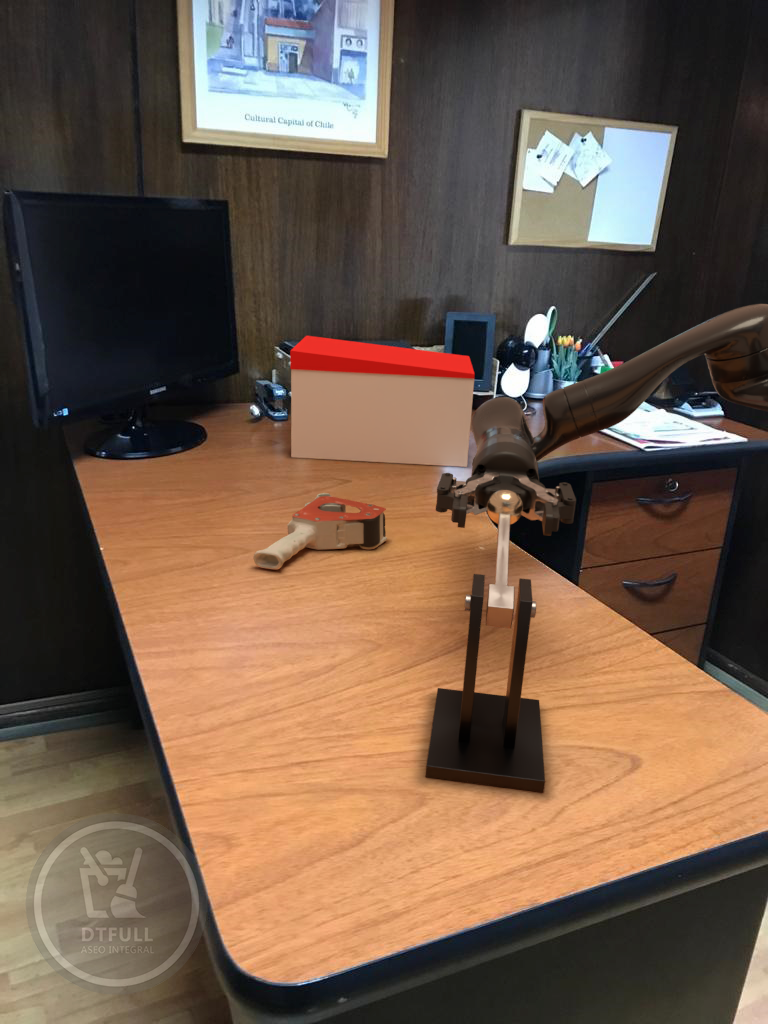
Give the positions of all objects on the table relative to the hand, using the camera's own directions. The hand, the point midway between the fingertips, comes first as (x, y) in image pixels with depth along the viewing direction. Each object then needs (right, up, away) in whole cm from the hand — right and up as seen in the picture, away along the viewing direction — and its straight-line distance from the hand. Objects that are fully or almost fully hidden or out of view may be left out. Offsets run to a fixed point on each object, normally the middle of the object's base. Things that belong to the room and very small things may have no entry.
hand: (504, 522), depth 74 cm
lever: (0, -4, -1) cm, 4 cm away
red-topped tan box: (-12, +14, +87) cm, 89 cm away
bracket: (-2, -20, -3) cm, 21 cm away
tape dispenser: (-21, -4, +38) cm, 44 cm away
